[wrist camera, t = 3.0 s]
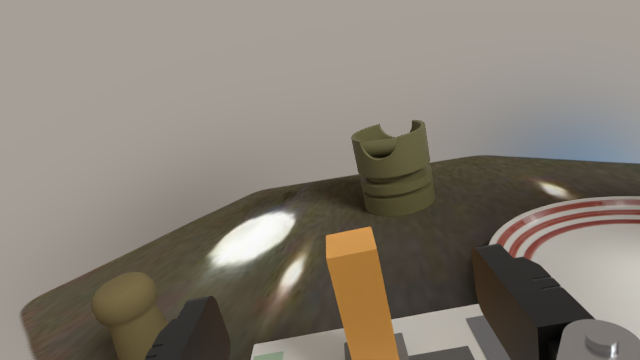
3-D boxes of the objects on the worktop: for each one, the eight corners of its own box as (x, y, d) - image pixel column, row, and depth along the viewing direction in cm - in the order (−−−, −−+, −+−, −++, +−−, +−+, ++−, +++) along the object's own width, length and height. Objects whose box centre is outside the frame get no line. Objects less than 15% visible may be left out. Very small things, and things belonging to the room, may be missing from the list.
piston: (415, 137, 52) (340, 144, 58) (427, 216, 56) (355, 216, 62) (431, 116, 62) (365, 124, 67) (440, 186, 65) (377, 188, 71)
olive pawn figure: (161, 350, 41) (121, 261, 38) (205, 357, 39) (167, 262, 35) (114, 399, 36) (64, 302, 33) (162, 411, 33) (112, 306, 30)
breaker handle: (403, 338, 29) (380, 219, 26) (416, 387, 25) (390, 252, 22) (345, 349, 29) (315, 232, 26) (349, 398, 25) (314, 267, 22)
